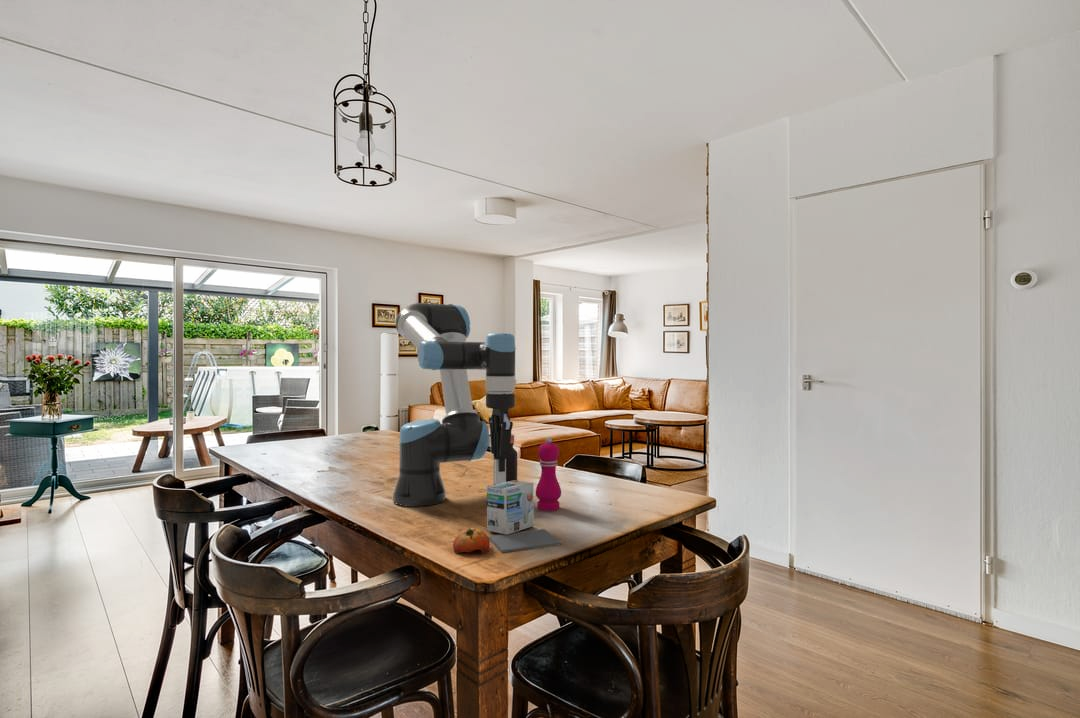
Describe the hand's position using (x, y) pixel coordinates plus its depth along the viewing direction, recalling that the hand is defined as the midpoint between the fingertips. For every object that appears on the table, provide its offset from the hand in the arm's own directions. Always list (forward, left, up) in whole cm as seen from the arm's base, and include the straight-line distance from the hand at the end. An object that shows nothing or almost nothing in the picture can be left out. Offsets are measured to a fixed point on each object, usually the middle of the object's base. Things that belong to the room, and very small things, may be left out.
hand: (500, 483), depth 139 cm
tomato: (+18, -13, -10) cm, 24 cm away
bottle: (-13, +6, -10) cm, 17 cm away
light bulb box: (+9, 0, -9) cm, 13 cm away
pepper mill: (-5, +16, -10) cm, 19 cm away
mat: (+18, 0, -9) cm, 20 cm away
